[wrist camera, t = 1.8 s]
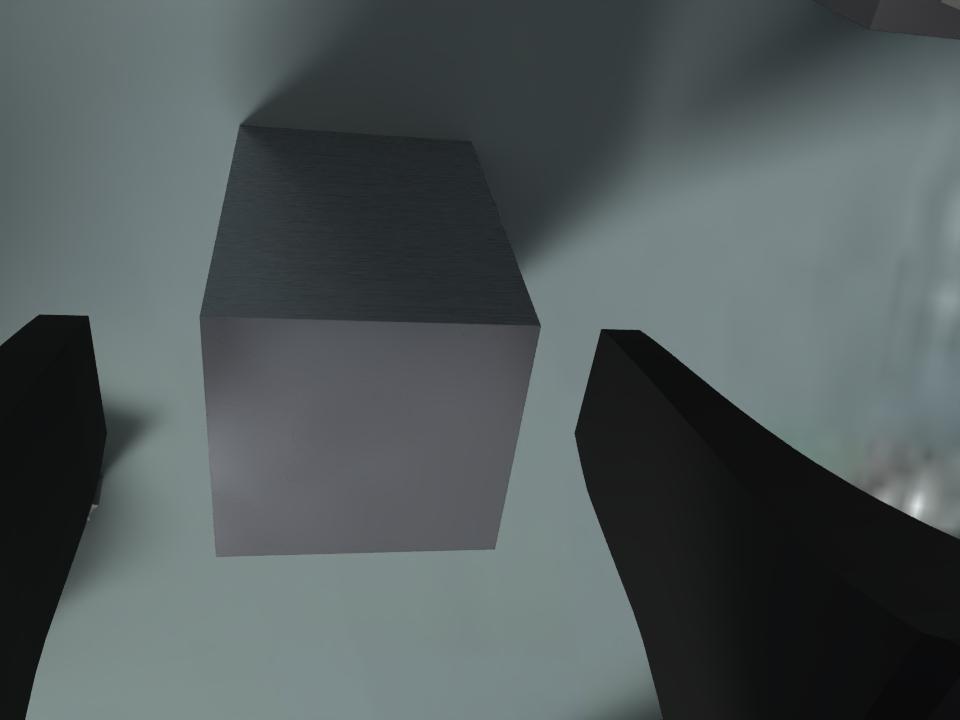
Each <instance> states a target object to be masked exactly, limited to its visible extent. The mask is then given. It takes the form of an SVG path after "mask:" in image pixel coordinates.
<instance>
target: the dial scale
mask: <svg viewBox="0 0 960 720" xmlns="http://www.w3.org/2000/svg"><path fill="white" fill-rule="evenodd" d="M814 1H816V2H817V3H819V4H821V5H823V6H825V7H827V8H829V9H831V10H833V11H835V12H837V13H839V14H840V15H842V16H844V17H846V18H848V19H850V20H852V21H854V22H856V23H858V24H860V25H861V26H863V27H865V28H867V29H869V30H878V31H887V32H896V33H905V34H914V35H923V36H932V37H941V38H950V39H959V40H960V0H814Z"/></svg>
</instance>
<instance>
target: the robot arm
mask: <svg viewBox="0 0 960 720" xmlns="http://www.w3.org/2000/svg"><path fill="white" fill-rule="evenodd" d="M106 435H107V431H106V425H105V418H104V412H103V406H102V399H101V393H100V386H99V380H98V374H97V367H96V361H95V354H94V348H93V342H92V335H91V329H90V322H89V316H75V315H38V316H37V317H35V318H34V319H33V320H31V321H30V322H29V323H28V324H26V325H25V326H24V327H23V328H21V329H20V330H19V331H18V332H17V333H15V334H14V335H13V336H12V337H10V338H9V339H8V340H7V341H6V342H4V343H3V344H2V345H1V346H0V720H25V718H26V713H27V709H28V704H29V700H30V696H31V691H32V687H33V682H34V678H35V674H36V670H37V666H38V663H39V660H40V656H41V653H42V650H43V646H44V643H45V640H46V637H47V634H48V631H49V628H50V625H51V622H52V619H53V616H54V614H55V611H56V608H57V605H58V602H59V599H60V596H61V594H62V591H63V588H64V585H65V582H66V579H67V576H68V574H69V571H70V568H71V565H72V562H73V559H74V556H75V554H76V551H77V548H78V545H79V542H80V539H81V536H82V533H83V530H84V527H85V524H86V521H87V518H88V516H89V513H90V510H91V507H92V503H93V500H94V497H95V493H96V488H97V483H98V478H99V473H100V468H101V463H102V457H103V452H104V446H105V441H106ZM575 438H576V442H577V447H578V452H579V457H580V462H581V466H582V470H583V475H584V479H585V483H586V487H587V491H588V494H589V496H590V499H591V502H592V505H593V507H594V510H595V513H596V515H597V518H598V521H599V523H600V526H601V529H602V531H603V534H604V537H605V539H606V542H607V544H608V547H609V550H610V552H611V555H612V557H613V560H614V563H615V565H616V568H617V570H618V573H619V576H620V578H621V581H622V583H623V586H624V589H625V591H626V594H627V596H628V599H629V602H630V604H631V607H632V609H633V612H634V615H635V618H636V621H637V624H638V627H639V630H640V633H641V636H642V639H643V643H644V646H645V650H646V654H647V658H648V662H649V666H650V669H651V673H652V677H653V681H654V685H655V688H656V692H657V696H658V700H659V704H660V708H661V713H662V717H663V720H960V539H957V538H955V537H953V536H951V535H949V534H947V533H945V532H942V531H940V530H938V529H936V528H934V527H932V526H929V525H927V524H925V523H923V522H921V521H919V520H917V519H915V518H913V517H911V516H909V515H907V514H905V513H904V512H902V511H900V510H898V509H896V508H894V507H892V506H890V505H888V504H886V503H884V502H882V501H880V500H878V499H876V498H875V497H873V496H871V495H869V494H867V493H866V492H864V491H862V490H860V489H858V488H857V487H855V486H853V485H851V484H850V483H848V482H847V481H845V480H843V479H842V478H840V477H838V476H837V475H835V474H833V473H832V472H830V471H828V470H827V469H825V468H823V467H822V466H820V465H818V464H817V463H815V462H814V461H812V460H811V459H809V458H807V457H806V456H804V455H803V454H801V453H800V452H798V451H797V450H795V449H794V448H792V447H791V446H790V445H788V444H787V443H785V442H784V441H783V440H781V439H780V438H778V437H777V436H776V435H774V434H773V433H771V432H770V431H768V430H767V429H766V428H764V427H763V426H761V425H760V424H759V423H757V422H756V421H755V420H753V419H752V418H751V417H749V416H748V415H747V414H745V413H744V412H743V411H741V410H740V409H739V408H738V407H736V406H735V405H734V404H732V403H731V402H730V401H729V400H727V399H726V398H725V397H724V396H722V395H721V394H720V393H719V392H717V391H716V390H715V389H714V388H712V387H711V386H710V385H709V384H707V383H706V382H705V381H704V380H702V379H701V378H700V377H699V376H698V375H696V374H695V373H694V372H693V371H691V370H690V369H689V368H688V367H687V366H685V365H684V364H683V363H682V362H680V361H679V360H678V359H677V358H676V357H674V356H673V355H672V354H671V353H669V352H668V351H667V350H666V349H664V348H663V347H662V346H661V345H659V344H658V343H657V342H655V341H654V340H653V339H651V338H650V337H649V336H647V335H646V334H644V333H643V332H642V331H640V330H615V329H601V332H600V336H599V340H598V344H597V348H596V352H595V356H594V360H593V364H592V367H591V371H590V375H589V379H588V383H587V387H586V391H585V395H584V399H583V403H582V406H581V410H580V414H579V418H578V422H577V426H576V430H575Z"/></svg>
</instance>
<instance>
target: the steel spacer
mask: <svg viewBox="0 0 960 720" xmlns="http://www.w3.org/2000/svg"><path fill="white" fill-rule="evenodd" d="M540 328H541V325H540V322H539V320H538V317H537V314H536V312H535V309H534V306H533V304H532V301H531V298H530V296H529V293H528V291H527V288H526V285H525V283H524V280H523V277H522V275H521V272H520V269H519V267H518V264H517V261H516V259H515V256H514V254H513V251H512V248H511V246H510V243H509V240H508V238H507V235H506V232H505V230H504V227H503V225H502V222H501V219H500V217H499V214H498V211H497V209H496V206H495V203H494V201H493V198H492V195H491V193H490V190H489V188H488V185H487V182H486V180H485V177H484V174H483V172H482V169H481V166H480V164H479V161H478V159H477V156H476V153H475V151H474V148H473V145H472V143H471V142H468V141H454V140H440V139H426V138H412V137H398V136H384V135H370V134H356V133H342V132H329V131H315V130H301V129H287V128H273V127H259V126H245V125H240V126H239V131H238V135H237V140H236V145H235V150H234V155H233V159H232V164H231V169H230V174H229V178H228V183H227V188H226V193H225V198H224V202H223V207H222V212H221V217H220V222H219V226H218V231H217V236H216V241H215V245H214V250H213V255H212V260H211V265H210V269H209V274H208V279H207V284H206V289H205V293H204V298H203V303H202V308H201V313H200V329H201V343H202V358H203V373H204V387H205V402H206V416H207V431H208V446H209V460H210V475H211V489H212V504H213V519H214V533H215V548H216V557H226V556H263V555H300V554H338V553H375V552H412V551H450V550H487V549H495V546H496V542H497V537H498V532H499V527H500V522H501V517H502V512H503V508H504V503H505V498H506V493H507V488H508V483H509V478H510V474H511V469H512V464H513V459H514V454H515V449H516V444H517V440H518V435H519V430H520V425H521V420H522V415H523V410H524V406H525V401H526V396H527V391H528V386H529V381H530V376H531V372H532V367H533V362H534V357H535V352H536V347H537V342H538V338H539V333H540Z"/></svg>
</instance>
